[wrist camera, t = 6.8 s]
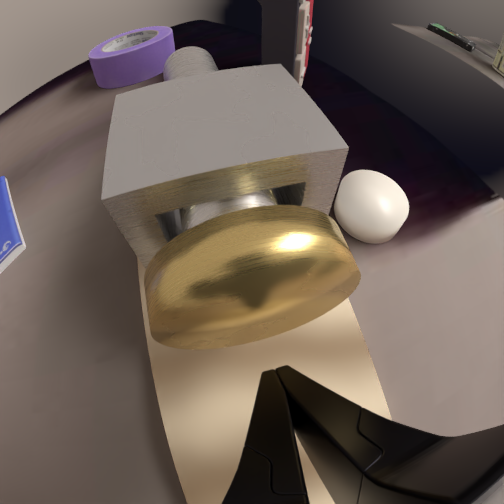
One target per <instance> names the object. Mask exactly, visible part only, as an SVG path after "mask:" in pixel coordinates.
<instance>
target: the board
mask: <svg viewBox="0 0 504 504" xmlns="http://www.w3.org/2000/svg"><path fill="white" fill-rule="evenodd" d="M137 262H138V274H139V284H140V294H141V302H142V310H143V318H144V325H145V332H146V339H147V345H148V351H149V357H150V363H151V368H152V374H153V379H154V384H155V389H156V394H157V398H158V403H159V407H160V412H161V416H162V420H163V424H164V428H165V432H166V436H167V440H168V443H169V447H170V451H171V454H172V458H173V461H174V464H175V468H176V471H177V474H178V477H179V480H180V484H181V487H182V490H183V493H184V495H185V498H186V501H187V504H221V503H222V501H223V499H224V497H225V495H226V493H227V491H228V489H229V487H230V485H231V482H232V480H233V478H234V475H235V473H236V470H237V468H238V464H239V461H240V458H241V454H242V451H243V447H244V443H245V439H246V435H247V431H248V427H249V423H250V419H251V415H252V411H253V407H254V403H255V399H256V394H257V390H258V386H259V381H260V377H261V373H262V372H263V371H267V370H271V369H274V370H275V369H276V368H278V367H281V366H284V365H289V366H290V367H292V368H294V369H295V370H297V371H299V372H300V373H302V374H304V375H306V376H307V377H309V378H311V379H312V380H314V381H316V382H318V383H319V384H321V385H323V386H325V387H326V388H328V389H330V390H332V391H334V392H335V393H337V394H339V395H341V396H343V397H345V398H346V399H348V400H350V401H352V402H354V403H356V404H358V405H360V406H361V407H362V408H366V409H368V410H369V411H371V412H373V413H376V414H378V415H380V416H382V417H384V418H387V419H389V420H392V419H391V416H390V413H389V409H388V406H387V403H386V400H385V397H384V394H383V391H382V388H381V385H380V382H379V379H378V376H377V373H376V370H375V368H374V365H373V362H372V359H371V356H370V354H369V351H368V348H367V345H366V343H365V340H364V337H363V335H362V332H361V329H360V327H359V324H358V322H357V319H356V316H355V314H354V311H353V309H352V306H351V304H350V301H349V299H348V298H346V299H345V300H344V301H343V302H342V303H340V304H339V305H338V306H336V307H335V308H333V309H332V310H330V311H329V312H327V313H325V314H324V315H322V316H320V317H318V318H316V319H314V320H312V321H310V322H308V323H306V324H304V325H302V326H299V327H297V328H295V329H292V330H290V331H287V332H284V333H281V334H279V335H276V336H272V337H269V338H266V339H262V340H259V341H255V342H251V343H247V344H242V345H237V346H231V347H225V348H217V349H204V350H188V349H177V348H172V347H168V346H165V345H162V344H160V343H158V342H156V341H155V340H154V339H153V338H152V336H151V333H150V326H149V319H148V312H147V305H146V297H145V288H144V275H145V271H146V269H145V267H144V266H143V264H142V263H141V261H140V260H139V258H138V257H137ZM295 436H296V434H295ZM296 441H297V446H298V450H299V455H300V460H301V464H302V469H303V474H304V478H305V483H306V488H307V493H308V497H309V502H310V504H335V502H334V501H333V499H332V497H331V496H330V494H329V492H328V491H327V489H326V487H325V485H324V484H323V482H322V480H321V479H320V477H319V475H318V473H317V472H316V470H315V468H314V466H313V465H312V463H311V461H310V459H309V457H308V456H307V454H306V452H305V450H304V448H303V447H302V445H301V443H300V441H299V439H298V437H297V436H296Z"/></svg>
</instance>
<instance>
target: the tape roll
mask: <svg viewBox="0 0 504 504" xmlns="http://www.w3.org/2000/svg"><path fill="white" fill-rule="evenodd" d="M173 52H175V47H174V40H173V32H172V29H171V28H169V27H166V26H153V27H145V28H140V29H136V30H132V31H129V32H125V33H122V34H120V35H117V36H115V37H112V38H110V39H108V40H106V41H104V42H102V43H101V44H99V45H98V46H96V47H95V48H94V49H92V50H91V52H90V53H89V55H88V56H89V60H90V63H91V66H92V70H93V73H94V76H95V79H96V82H97V85H98V86H99V87H101V88H108V89H110V88H119V87H124V86H128V85H132V84H136V83H139V82H142V81H145V80H147V79H150V78H152V77H154V76H156V75H158V74H160V73H162V72H163V69H164V64H165V62H166V60H167V59H168V57H169V56H170V55H171V54H172V53H173Z"/></svg>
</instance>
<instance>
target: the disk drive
mask: <svg viewBox="0 0 504 504" xmlns="http://www.w3.org/2000/svg"><path fill="white" fill-rule="evenodd" d="M427 29H429V30H431V31H433V32H435V33H437V34H439V35H441V36H443V37H445V38H447V39H449V40H451V41H452V42H454V43H456V44H458V45H460V46H461V47H463V48H465V49H466V50H468V51H470V52H471V51H473V50H475V47H476V44H475V43H473V42H472V41H470V40H468V39H466V38H465V37H463V36H461V35H459V34H457V33H455V32H454V31H452V30H450V29H448V28H446V27H444V26H442V25H440V24H438V23H431V24H430V23H429V25H428V28H427Z"/></svg>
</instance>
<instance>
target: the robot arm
mask: <svg viewBox="0 0 504 504" xmlns="http://www.w3.org/2000/svg"><path fill="white" fill-rule="evenodd" d="M295 434H296V436H297V437H298V439H299V441H300V443H301V445H302V447H303V448H304V450H305V452H306V454H307V456H308V457H309V459H310V461H311V463H312V465H313V466H314V468H315V470H316V472H317V473H318V475H319V477H320V479H321V480H322V482H323V484H324V485H325V487H326V489H327V491H328V492H329V494H330V496H331V497H332V499H333V501H334V502H335V504H504V424H503V425H500V426H497V427H493V428H490V429H486V430H482V431H479V432H475V433H471V434H466V435H462V436H456V437H446V436H439V435H435V434H432V433H428V432H425V431H422V430H418V429H415V428H412V427H409V426H406V425H403V424H400V423H397V422H394V421H392V420H389V419H387V418H384V417H382V416H380V415H378V414H376V413H373V412H371V411H369V410H368V409H366V408H362V407H361V406H360V405H358V404H356V403H354V402H352V401H350V400H348V399H346V398H345V397H343V396H341V395H339V394H337V393H335V392H334V391H332V390H330V389H328V388H326V387H325V386H323V385H321V384H319V383H318V382H316V381H314V380H312V379H311V378H309V377H307V376H306V375H304V374H302V373H300V372H299V371H297V370H295V369H294V368H292V367H290V366H289V365H284V366H281V367H278V368H276V369H275V370H274V369H271V370H267V371H263V372H262V373H261V377H260V381H259V386H258V390H257V394H256V399H255V403H254V407H253V411H252V415H251V419H250V423H249V427H248V431H247V435H246V439H245V443H244V447H243V451H242V454H241V458H240V461H239V464H238V468H237V470H236V473H235V475H234V478H233V480H232V482H231V485H230V487H229V489H228V491H227V493H226V495H225V497H224V499H223V501H222V503H221V504H310V502H309V497H308V493H307V488H306V483H305V478H304V474H303V469H302V464H301V460H300V455H299V450H298V446H297V441H296V436H295Z"/></svg>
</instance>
